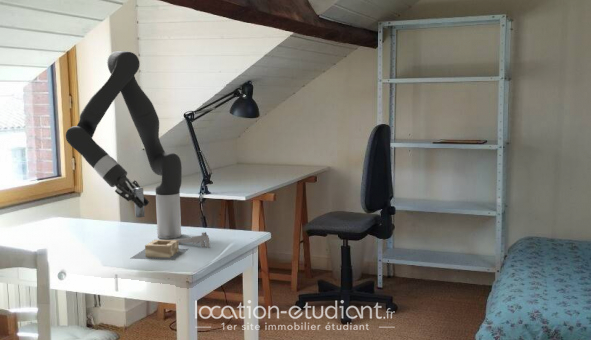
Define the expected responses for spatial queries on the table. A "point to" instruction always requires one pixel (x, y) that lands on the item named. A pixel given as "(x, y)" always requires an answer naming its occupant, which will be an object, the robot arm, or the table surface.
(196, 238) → the caliper
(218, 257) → the table surface
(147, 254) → the wooden square frame
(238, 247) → the table surface
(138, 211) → the ball
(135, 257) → the mat
